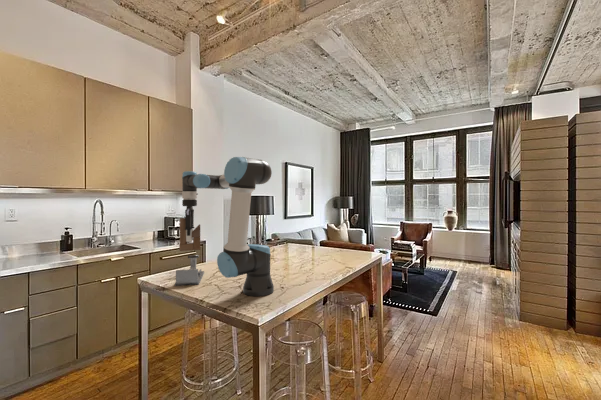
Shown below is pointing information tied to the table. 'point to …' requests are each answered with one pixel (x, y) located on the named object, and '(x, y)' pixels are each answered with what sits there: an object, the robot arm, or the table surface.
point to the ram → (193, 261)
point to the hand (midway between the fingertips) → (189, 240)
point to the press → (188, 277)
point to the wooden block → (195, 235)
